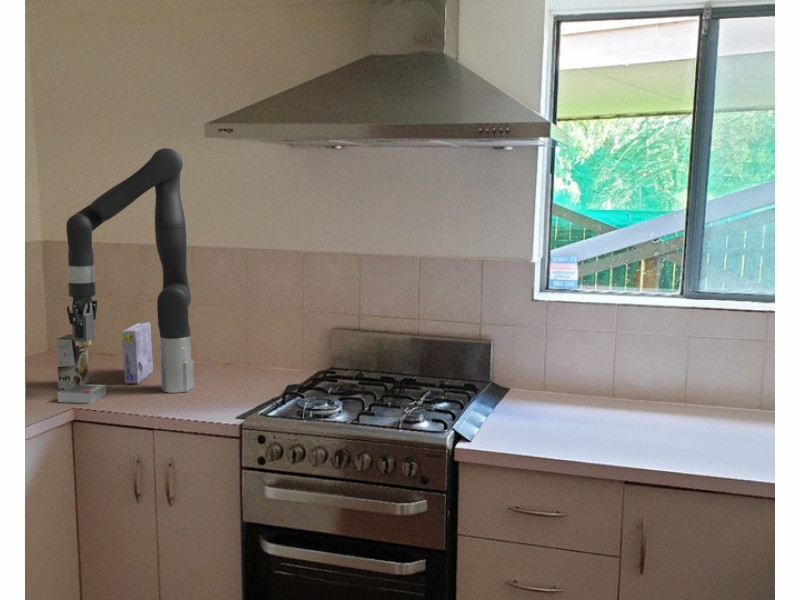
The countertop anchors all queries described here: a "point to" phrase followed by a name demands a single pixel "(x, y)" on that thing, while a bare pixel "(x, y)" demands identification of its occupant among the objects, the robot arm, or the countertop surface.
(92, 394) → the socket
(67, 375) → the coffee box
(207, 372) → the countertop surface
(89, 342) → the gray block
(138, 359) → the cake pan box
